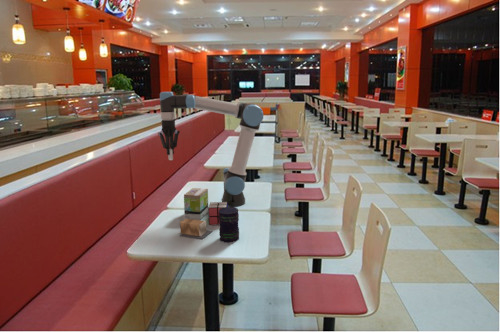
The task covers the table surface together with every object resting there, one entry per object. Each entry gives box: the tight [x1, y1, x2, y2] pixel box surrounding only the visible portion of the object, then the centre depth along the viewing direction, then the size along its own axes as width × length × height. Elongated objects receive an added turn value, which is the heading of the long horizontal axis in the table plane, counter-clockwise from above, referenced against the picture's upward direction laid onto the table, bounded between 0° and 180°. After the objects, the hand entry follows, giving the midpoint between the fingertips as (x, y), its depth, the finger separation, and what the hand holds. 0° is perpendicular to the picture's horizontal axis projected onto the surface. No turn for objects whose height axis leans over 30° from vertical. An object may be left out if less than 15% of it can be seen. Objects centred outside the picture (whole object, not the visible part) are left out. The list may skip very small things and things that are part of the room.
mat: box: [179, 229, 213, 240], centre depth 204 cm, size 13×11×1 cm
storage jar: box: [218, 206, 240, 244], centre depth 196 cm, size 10×10×15 cm
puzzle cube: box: [208, 201, 229, 226], centre depth 220 cm, size 10×10×10 cm
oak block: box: [179, 218, 208, 236], centre depth 204 cm, size 6×6×12 cm
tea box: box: [183, 187, 209, 221], centre depth 230 cm, size 15×10×15 cm
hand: (170, 160), depth 230 cm, fingers closed
